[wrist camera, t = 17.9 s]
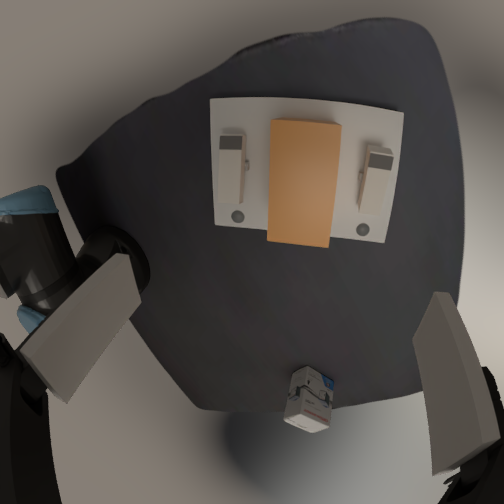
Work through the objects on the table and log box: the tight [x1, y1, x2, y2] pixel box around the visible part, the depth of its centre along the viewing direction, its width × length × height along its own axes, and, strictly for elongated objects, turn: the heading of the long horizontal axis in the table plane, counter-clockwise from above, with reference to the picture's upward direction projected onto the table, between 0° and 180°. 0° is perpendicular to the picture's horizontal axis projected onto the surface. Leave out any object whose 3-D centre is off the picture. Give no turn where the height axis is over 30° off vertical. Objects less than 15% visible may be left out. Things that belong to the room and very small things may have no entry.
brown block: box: [267, 117, 342, 248], centre depth 28 cm, size 6×12×8 cm, turn 0°
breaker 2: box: [357, 145, 394, 216], centre depth 28 cm, size 3×8×2 cm, turn 0°
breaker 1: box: [217, 134, 246, 204], centre depth 31 cm, size 3×8×2 cm, turn 0°
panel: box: [210, 97, 404, 243], centre depth 32 cm, size 23×17×4 cm
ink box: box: [284, 366, 334, 433], centre depth 49 cm, size 9×5×12 cm, turn 54°
